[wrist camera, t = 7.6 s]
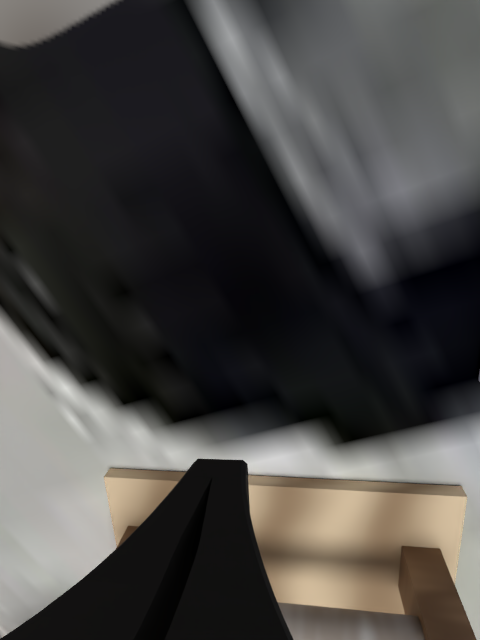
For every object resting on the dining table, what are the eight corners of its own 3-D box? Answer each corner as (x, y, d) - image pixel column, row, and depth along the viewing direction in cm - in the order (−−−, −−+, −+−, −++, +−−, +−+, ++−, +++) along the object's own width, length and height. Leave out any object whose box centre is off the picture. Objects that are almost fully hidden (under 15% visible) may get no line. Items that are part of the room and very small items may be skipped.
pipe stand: (461, 486, 21) (519, 590, 16) (442, 621, 24) (485, 750, 19) (109, 468, 24) (53, 550, 19) (131, 591, 27) (88, 693, 22)
